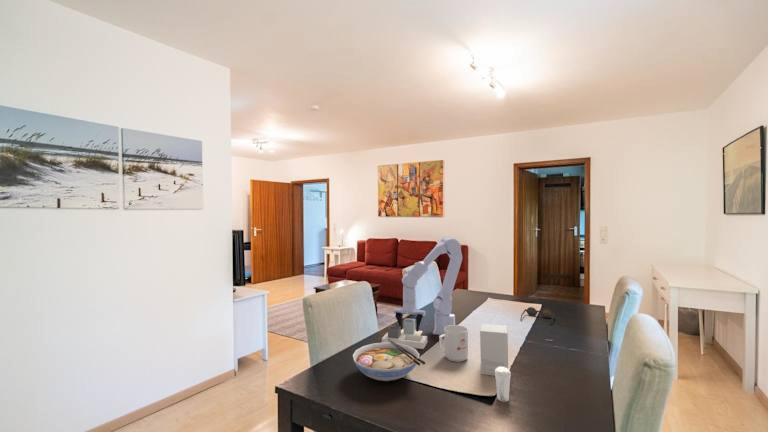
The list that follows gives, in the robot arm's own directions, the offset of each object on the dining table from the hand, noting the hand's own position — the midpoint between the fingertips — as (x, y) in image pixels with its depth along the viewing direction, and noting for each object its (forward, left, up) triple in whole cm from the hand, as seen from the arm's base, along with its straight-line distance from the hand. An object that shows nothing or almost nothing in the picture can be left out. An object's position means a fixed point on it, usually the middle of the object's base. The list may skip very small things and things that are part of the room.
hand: (409, 330), depth 158 cm
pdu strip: (-1, +11, -2) cm, 11 cm away
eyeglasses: (-58, -40, -3) cm, 71 cm away
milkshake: (-39, +46, -2) cm, 60 cm away
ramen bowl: (-2, +42, -2) cm, 42 cm away
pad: (0, 0, -2) cm, 2 cm away
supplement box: (-37, +27, -2) cm, 46 cm away
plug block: (0, 0, -2) cm, 2 cm away
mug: (-22, +21, -2) cm, 31 cm away
